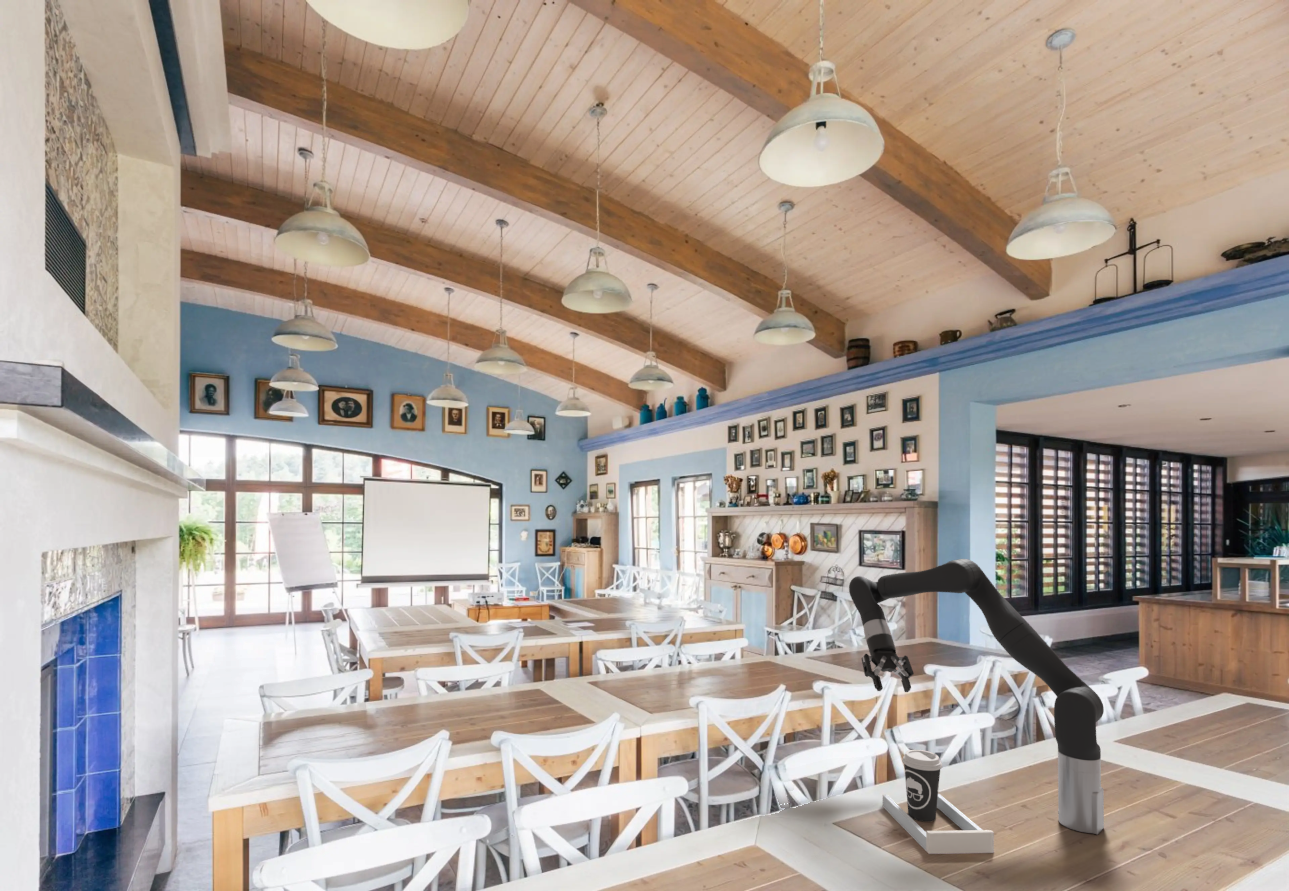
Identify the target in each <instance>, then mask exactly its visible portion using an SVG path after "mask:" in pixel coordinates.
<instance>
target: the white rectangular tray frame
mask: <svg viewBox="0 0 1289 891" xmlns="http://www.w3.org/2000/svg"><path fill="white" fill-rule="evenodd" d="M881 802H882V804H881V806H882V807H883V808H884V809H885V811H886V812H888V814H889V815H890V816H891V817H892V818H893V819H894V820H895V821H896V822H897V823H898V824H899V825H900V827H901V828H903V829H904V830H905V831H906V832H907V833H908V834H909V835H910V836H911V837H912V838H913V840H915V841H916V843H917V844H918V845H919V846H921V848H922V849H923V850H925V852H926V853H928V855H938V854H939V855H941V854H942V855H945V854H947V855H948V854H955V855H956V854H994V853H995V832H994V831H993V830H991V829H983V828H981V827H980V826H979V825H978V824H977V823H975V822H974V821H972V820H971V819H970V818H969V817H968V816H967V815H965V813H963V812H962V811H960V809H958V808H957V807H956V806H955V805H953V804H952V802H950V801H949V800H948V799H946V798H945V797H944V796H943V795H942V794H941V793H938V799H937V810H939V811H941V813H943V814H944V816H946V817H947V818H948V819H950V821H952V822H953V823H954V824H955V825H956V826H958V827H959V828H960V829H961V830H960V829H959V830H956V829H955V830H953V829H952V830H924V828H922V827H921V826H920V825H919V824H918V823H917V822H916V820H915V819H913V818H911V817H910V816H909V815H908V812H906V811H905V810H904V809H903V808H902V807H901V806H900V805H898V804H897V803H896V802H895V800H894V799H893V798H891V796H890V795H889V794H887V793H886V794H882V801H881Z"/></svg>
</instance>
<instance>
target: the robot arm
mask: <svg viewBox="0 0 1289 891" xmlns="http://www.w3.org/2000/svg"><path fill="white" fill-rule="evenodd" d="M848 591H849V597H850V599H851V600H852V602H853V604H854V606H855V608H856V609H857V612H858V613H859V615H860V619H861V620H860V621H861V623H862V626H863V632H864V633H863V634H864V638H865V641H866V645H867V649H868V652H869V654H868V653H865V654H864V655H862V657H861V663H862V664H861V665H862V668H863V673H864V676H865V677H869V678H871V680H872V681H873V682H872V683H873V686H874V688H875V690H876V691H877V692H881V691H882V690H883V689H884V687H883V684H882V681H881V680H882V679H881V676H880V675H879V674H880V672H882V673H885V672H888V673H893V674H894V675H895V676H897V677H899V678H900V679H901V684H902V687H903V692H904V693H909V692H910V691H911V689H912V686H911V682H910V678H912V676H914V674H915V672H914V670H913V668H912V665H911V662H910V659H909V657H908V655H904V656H898V655H897V649H896V645H895V642H894V639H893V636H892V633H891V629H890V626H889V624H888V622H887V619H886V615H885V613H884V610H883V608H882V606H881V605H880V604H879V603H882V602H884V601H887V600H890V599H895V598H896V599H897V598H903V597H908V596H913V595H918V594H923V593H951V594H963V593H965V595H967V596H968V597H969V598H970V599H971V600H972V601H973V602H974V603H975V604H976V605H977V607H978V609H980V610H981V612H982V614H983V616H984V618H985V620H986V623H987V626H988V628H989V629H990V632H991V634H992V635H993V637H994V639H995V640H996V641H997V643H999V645H1000V646H1001V647H1002V648H1003V649H1004V650H1005V652H1006V653H1007V654H1008V655H1009V656H1010V657H1011V658H1012V659H1013V660H1015V662H1017V663H1018V664H1020V665H1021V666H1022V667H1024V668H1026V669H1027V670H1028V671H1030V672H1031V673H1032V674H1034V675H1035V676H1036V677H1038V678H1040V680H1042V681H1043V682H1044V683H1045V684H1046V685H1047V687H1049V689H1050V690H1051V691H1052V692H1053V693H1054V695H1055V696H1056V698H1055V701H1054V706H1053V718H1054V720H1053V721H1054V737H1055V738H1054V739H1055V741H1056V743H1057V803H1058V804H1057V805H1058V810H1057V814H1058V815H1057V816H1058V822H1059V823H1060V825H1062V826H1064V827H1065V828H1067V829H1070V830H1073V831H1076V832H1082V833H1085V834H1086V833H1088V834H1095V835H1099V834H1100V833H1101V831H1102V830H1103V829H1104V828H1105V808H1104V805H1105V804H1104V802H1105V801H1104V800H1105V799H1104V798H1105V797H1104V796H1105V795H1104V793H1105V792H1104V790H1105V789H1104V788H1103V787H1102V776H1101V775H1102V774H1101V773H1102V772H1101V771H1102V770H1101V768H1102V767H1101V766H1102V764H1101V763H1102V762H1101V747H1100V745H1099V744H1098V741H1097V740H1098V739H1097V722H1098V721H1100V720H1101V719H1102V717H1103V714H1104V703H1103V701H1102V699H1101V698H1100V696H1099V695H1098V694H1097V692H1096V691H1095V690H1093V688H1092V687H1090V686H1089V685H1088V684H1087V683H1086V682H1085V681H1084V680H1082V679H1081V678H1080V677H1079V676H1078V675H1077V674H1076V673H1075V672H1073V670H1072V669H1070V668H1069V667H1068V666H1067V665H1066V664H1065V663H1064V661H1063V660H1062V659H1061V658H1060V657H1059V656H1058V654H1057V653H1056V652H1055V651H1054V650H1053V649H1052V647H1050V645H1049V644H1048V643H1047V642H1046V641H1045V640H1044V639H1043V638H1042V637H1041V635H1040V634H1039V633H1038V632H1037V631H1036V630H1035V629H1034V627H1032V625H1031V624H1029V622H1028V621H1027V620H1026V619H1025V618H1024V617H1023V616H1022V615H1021V614H1020V613H1019V612H1018V611H1017V610H1016V609H1015V608H1014V607H1013V605H1012V604H1011V603H1010V602H1009V601H1008V600H1007V599H1006V598H1005V597H1004V596H1003V595H1002V594H1001V592H999V590H997V588H996V586H995V585H994V583H992V582H991V580H990V579H989V577H988V576H987V575H986V573H985V572H984V571H983V569H982V568H981V567H980V566H979V565H978V564H977V563H976V562H974V561H972V560H971V559H967V558H959V559H954V560H950V561H947V562H945V563H942V564H940V565H938V566H935V567H932V568H930V569H929V568H928V569H925V570H920V571H906V572H905V571H904V572H898V573H892V574H886V575H885V574H884V575H882V576H880V577H879V578H878V580H877V581H873V580H870V579H869V578H867V577H864V576H861V575H859V576H855V577H853V578H851V580H850V582H849V586H848ZM871 662H872V664H873V665H874V668H873V670H872V664H871Z"/></svg>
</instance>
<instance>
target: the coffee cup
mask: <svg viewBox="0 0 1289 891" xmlns="http://www.w3.org/2000/svg"><path fill="white" fill-rule="evenodd" d="M901 762H902V764H903V766H904V776H905V778H904V779H905V790H906V791H905V792H906V801H907V802H906V803H907V814H908V815H909V816H910V817H911V818H912V819H913V820H914V821H919V822H927V823H928V822H929V823H930V822H935V820H936V818H937V810H938V808H937V799H938V794H939V786H940V778H941V777H940V775H941V770H942V768H943V763H942V761H941V759H940V757H939V755H938V754H936V753H934V752H931V751H927V750H922V749H910V750H909V749H908V750H907V751H905V754H904V755H903V756H902V759H901Z"/></svg>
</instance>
